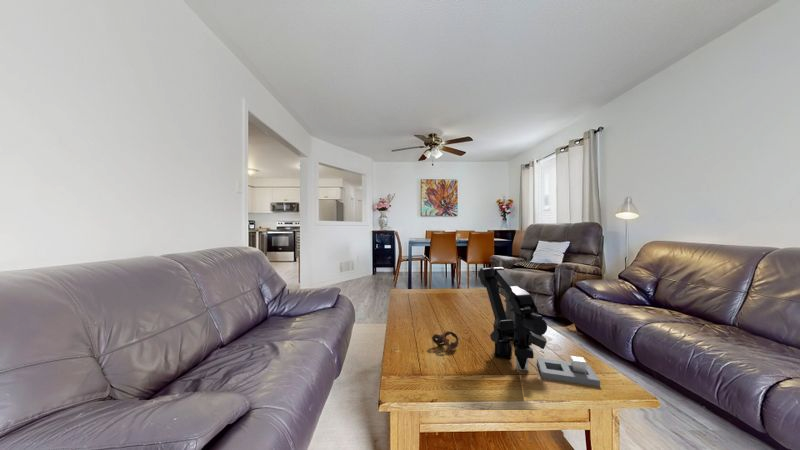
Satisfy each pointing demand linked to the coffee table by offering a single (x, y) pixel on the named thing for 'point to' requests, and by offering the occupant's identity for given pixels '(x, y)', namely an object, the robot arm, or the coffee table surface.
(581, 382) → the pallet
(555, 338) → the coffee table surface
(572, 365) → the block
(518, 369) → the billet
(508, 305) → the candle holder
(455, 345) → the brown looped piece
